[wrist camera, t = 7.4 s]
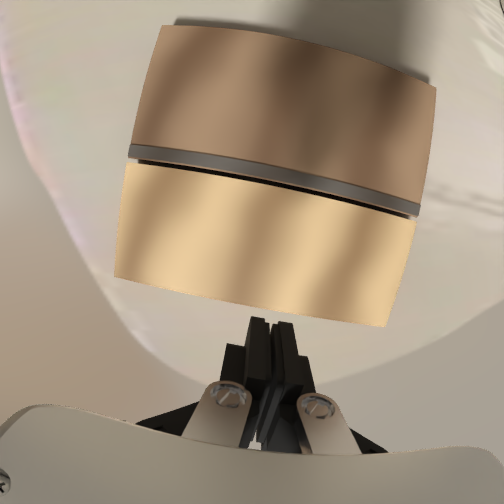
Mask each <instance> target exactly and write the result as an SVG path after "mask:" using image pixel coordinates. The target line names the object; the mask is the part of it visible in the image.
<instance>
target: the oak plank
mask: <svg viewBox="0 0 504 504" xmlns="http://www.w3.org/2000/svg"><path fill="white" fill-rule="evenodd" d="M416 223H417V222H415V221H412V220H408V219H405V218H402V217H398V216H394V215H391V214H387V213H384V212H380V211H376V210H373V209H369V208H365V207H361V206H357V205H353V204H349V203H345V202H341V201H337V200H333V199H329V198H325V197H321V196H316V195H312V194H308V193H303V192H299V191H294V190H290V189H285V188H280V187H275V186H270V185H266V184H261V183H255V182H250V181H245V180H240V179H234V178H229V177H223V176H218V175H212V174H206V173H200V172H193V171H187V170H181V169H174V168H167V167H160V166H153V165H145V164H137V163H129V162H127V164H126V170H125V176H124V183H123V190H122V197H121V204H120V213H119V222H118V231H117V242H116V255H115V271H114V277H118V278H122V279H126V280H130V281H134V282H138V283H142V284H147V285H151V286H155V287H160V288H164V289H168V290H173V291H177V292H182V293H187V294H191V295H196V296H201V297H206V298H211V299H216V300H221V301H226V302H231V303H236V304H241V305H246V306H252V307H257V308H263V309H268V310H274V311H280V312H286V313H292V314H298V315H304V316H310V317H316V318H323V319H330V320H336V321H343V322H350V323H358V324H365V325H373V326H381V327H385V326H386V323H387V320H388V318H389V315H390V312H391V309H392V306H393V303H394V300H395V297H396V294H397V291H398V288H399V285H400V282H401V279H402V275H403V272H404V269H405V265H406V262H407V258H408V255H409V251H410V247H411V244H412V240H413V236H414V232H415V228H416Z"/></svg>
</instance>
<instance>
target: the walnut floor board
mask: <svg viewBox="0 0 504 504" xmlns="http://www.w3.org/2000/svg"><path fill="white" fill-rule="evenodd" d="M435 101H436V88H435V87H433V86H431V85H429V84H427V83H425V82H423V81H421V80H418V79H416V78H414V77H412V76H409V75H407V74H405V73H402V72H400V71H397V70H395V69H392V68H390V67H387V66H385V65H382V64H379V63H377V62H374V61H371V60H368V59H365V58H362V57H359V56H356V55H353V54H350V53H347V52H343V51H340V50H337V49H333V48H330V47H326V46H322V45H318V44H314V43H310V42H306V41H302V40H297V39H292V38H288V37H283V36H277V35H272V34H266V33H260V32H253V31H246V30H237V29H228V28H218V27H204V26H181V25H162V27H161V30H160V33H159V36H158V39H157V42H156V45H155V48H154V51H153V55H152V58H151V61H150V65H149V68H148V72H147V75H146V79H145V83H144V87H143V90H142V94H141V98H140V103H139V107H138V111H137V116H136V120H135V125H134V130H133V135H132V140H131V145H130V147H129V152H128V158H133V159H141V160H149V161H157V162H165V163H172V164H179V165H185V166H192V167H198V168H204V169H210V170H216V171H222V172H228V173H233V174H239V175H244V176H249V177H255V178H260V179H265V180H270V181H275V182H279V183H284V184H289V185H293V186H298V187H302V188H307V189H311V190H316V191H320V192H324V193H328V194H332V195H336V196H340V197H344V198H348V199H352V200H356V201H360V202H364V203H368V204H371V205H375V206H379V207H382V208H386V209H389V210H393V211H396V212H400V213H403V214H407V215H410V216H413V217H417V216H418V215H419V211H420V206H421V205H420V203H421V198H422V193H423V188H424V183H425V178H426V172H427V166H428V160H429V154H430V147H431V139H432V132H433V123H434V113H435Z"/></svg>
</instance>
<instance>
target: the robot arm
mask: <svg viewBox="0 0 504 504" xmlns="http://www.w3.org/2000/svg"><path fill="white" fill-rule="evenodd" d="M501 4H502V8H503V11H504V0H501ZM256 429H257V431H256ZM255 432H256V442H260V443H261V450H255V449H247V448H248V447H249V443H250V441H253V438H254V435H255ZM0 504H504V466H503V465H502V464H501V463H500V461H499V460H498V459H497V458H496V456H494V455H493V454H492V453H491V452H489V451H487V450H484V449H481V448H476V447H470V446H448V447H439V448H431V449H421V450H414V451H404V452H393V453H389V452H387V451H386V450H385V449H384V448H382V447H380V446H378V445H377V444H375V443H373V442H372V441H370V440H368V439H367V438H365V437H363V436H362V435H360V434H359V433H357V432H355V431H353V430H352V429H350V428H349V427H348V425H347V423H346V421H345V419H344V417H343V415H342V413H341V411H340V409H339V407H338V405H337V404H336V403H335V402H334V401H333V400H332V399H331V398H329V397H327V396H325V395H322V394H318V393H316V391H315V386H314V382H313V377H312V373H311V369H310V364H309V360H308V357H307V356H300V355H298V349H297V344H296V339H295V334H294V329H293V324H292V323H287V322H281V321H279V322H278V324H273V325H272V328H271V332H270V327H269V323H266V322H265V319H264V318H259V317H253V316H251V319H250V323H249V327H248V332H247V336H246V341H245V345H244V346H239V345H234V344H228V343H227V345H226V351H225V356H224V361H223V366H222V371H221V376H220V381H217V382H214V383H212V384H210V385H209V386H208V387H207V388H206V390H205V392H204V394H203V395H202V397H201V399H200V401H198V402H196V403H193V404H190V405H188V406H185V407H182V408H179V409H176V410H173V411H170V412H167V413H164V414H161V415H158V416H155V417H151V418H148V419H145V420H142V421H140V422H138V423H136V424H132V423H128V422H126V421H125V420H118V419H115V418H112V417H109V416H106V415H102V414H99V413H95V412H91V411H88V410H84V409H79V408H74V407H69V406H60V405H52V404H50V405H49V404H39V405H32V406H28V407H25V408H23V409H21V410H19V411H18V412H16V413H15V414H13V415H12V416H11V417H10V418H8V419H7V420H6V421H5V422H4V423H3V424H2V425H1V426H0Z"/></svg>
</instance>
